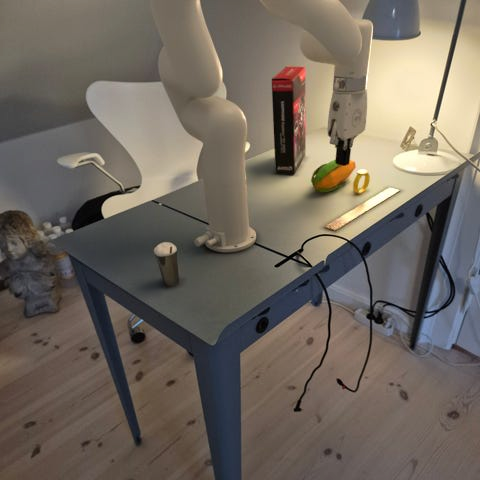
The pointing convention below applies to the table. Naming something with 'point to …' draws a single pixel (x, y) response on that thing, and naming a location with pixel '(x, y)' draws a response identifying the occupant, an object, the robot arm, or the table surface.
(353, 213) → the ruler
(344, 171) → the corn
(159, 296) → the table surface
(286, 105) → the graphics card box
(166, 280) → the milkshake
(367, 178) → the watch
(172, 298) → the table surface
